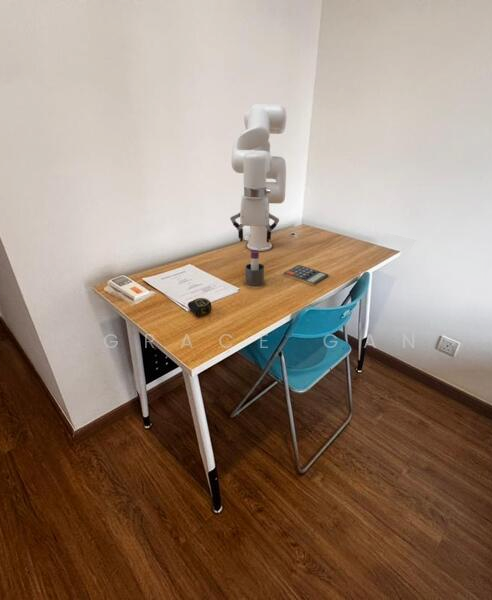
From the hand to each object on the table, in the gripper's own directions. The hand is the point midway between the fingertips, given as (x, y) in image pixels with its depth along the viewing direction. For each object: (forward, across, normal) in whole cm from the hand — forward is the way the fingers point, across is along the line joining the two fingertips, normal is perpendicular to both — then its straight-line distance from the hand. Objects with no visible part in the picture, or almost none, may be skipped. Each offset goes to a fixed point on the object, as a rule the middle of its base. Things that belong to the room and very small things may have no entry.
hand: (254, 240), depth 118 cm
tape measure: (+18, +17, +22) cm, 33 cm away
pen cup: (+18, 0, 0) cm, 18 cm away
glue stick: (+17, 0, 0) cm, 17 cm away
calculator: (+18, -21, -10) cm, 29 cm away
